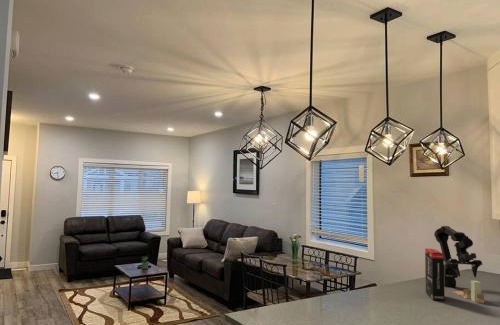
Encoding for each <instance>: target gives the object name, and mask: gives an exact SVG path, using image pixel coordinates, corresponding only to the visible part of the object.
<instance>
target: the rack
mask: <svg viewBox="0 0 500 325" xmlns="http://www.w3.org/2000/svg"><path fill="white" fill-rule="evenodd" d="M462 291H463V292H464V295H461V297H462V298H464V299H468V300H471V288H469V289H468V288H467V289H465V288H464V289H463V290H462ZM475 303H476V304H485V294H484V293H481V294H479V293H476V302H475Z"/></svg>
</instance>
